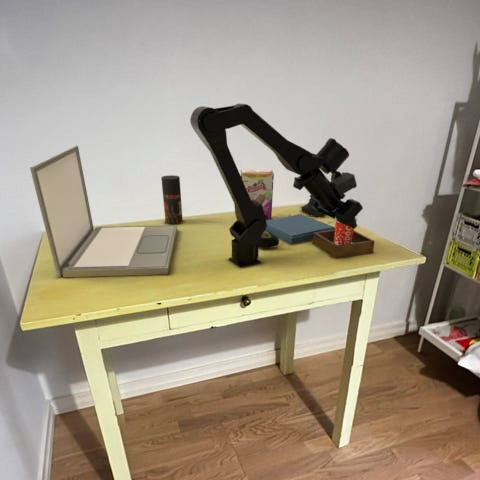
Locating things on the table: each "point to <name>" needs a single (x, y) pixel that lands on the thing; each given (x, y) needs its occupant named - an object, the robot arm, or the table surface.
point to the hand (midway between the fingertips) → (349, 224)
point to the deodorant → (172, 199)
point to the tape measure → (268, 240)
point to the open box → (357, 246)
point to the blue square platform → (296, 228)
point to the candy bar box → (260, 187)
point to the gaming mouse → (311, 210)
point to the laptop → (82, 232)
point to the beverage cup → (343, 233)
